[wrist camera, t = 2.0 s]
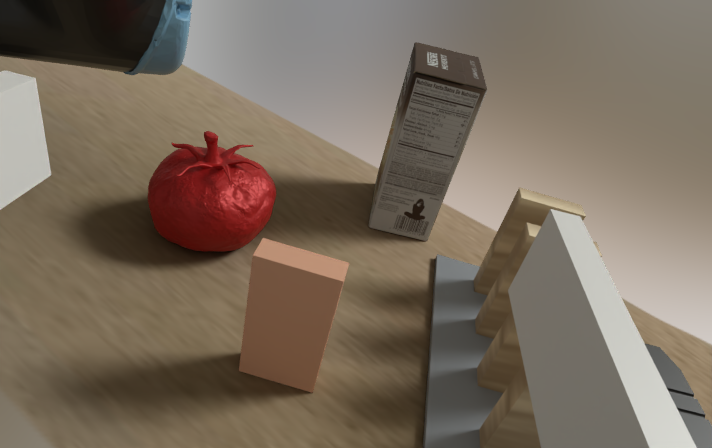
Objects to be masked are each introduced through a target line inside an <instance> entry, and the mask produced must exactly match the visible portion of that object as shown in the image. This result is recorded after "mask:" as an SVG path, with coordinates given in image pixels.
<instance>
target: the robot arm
mask: <svg viewBox="0 0 712 448" xmlns="http://www.w3.org/2000/svg"><path fill="white" fill-rule="evenodd" d="M191 7H192V0H0V56H4V57H12V58H20V59H28V60H36V61H44V62H52V63H60V64H68V65H76V66H83V67H91V68H98V69H105V70H112V71H119V72H124V73H125V74H129V75H135V74H138V73H144V74H158V75H167V74H171V73H173V72H175V71H176V70H177V69H178V68H179V67H180V66H181V64H182V62H183V59H184V55H185V51H186V45H187V39H188V33H189V25H190V15H191V13H190V9H191ZM49 176H51V170H50V164H49V158H48V152H47V145H46V139H45V133H44V127H43V121H42V115H41V109H40V102H39V96H38V90H37V84H36V78H33V77H29V76H25V75H21V74H17V73H13V72H9V71H6V70H5V71H2V72H0V210H1V209H2V208H3V207H5V206H6V205H8V204H9V203H11V202H12V201H14V200H15V199H17V198H18V197H20V196H21V195H23V194H24V193H26V192H27V191H28V190H30V189H31V188H33V187H34V186H36V185H37V184H39V183H40V182H42V181H43V180H45V179H46V178H48V177H49ZM508 293H509V297H510V302H511V307H512V312H513V316H514V321H515V326H516V331H517V335H518V340H519V345H520V350H521V355H522V359H523V364H524V369H525V374H526V378H527V383H528V388H529V393H530V397H531V402H532V407H533V412H534V416H535V421H536V426H537V431H538V435H539V440H540V445H541V448H712V426H711V424H710V422H709V420H706V419H705V413H704V411H703V409H702V408H701V406H700V404H699V402H698V400H697V399H694V398H693V396H694V393H693V391H692V390H691V388H690V386H689V384H688V382H687V381H686V379H685V377H684V375H683V373H682V372H681V370H680V369H679V368H678V367H677V366H676V365H675V364H674V362H673V361H672V360H671V359H670V358H669V357H668V356H667V355H666V354H665V353H664V352H663V351H662V350H661V348H660V347H656V346H653V345H649V344H645V343H644V342H643V340H642V338H641V336H640V334H639V332H638V330H637V328H636V326H635V324H634V322H633V320H632V318H631V316H630V314H629V312H628V310H627V308H626V306H625V304H624V302H623V300H622V298H621V296H620V294H619V292H618V290H617V288H616V287H615V284H614V282H613V280H612V278H611V276H610V274H609V273H608V270H607V268H606V266H605V265H604V262H603V260H602V259H601V256H600V255H599V253H598V251H597V249H596V247H595V245H594V243H593V241H592V239H591V237H590V235H589V233H588V231H587V229H586V227H585V225H584V223H583V221H582V219H581V217H580V216H576V215H573V214H569V213H565V212H561V211H557V210H553V209H550V211H549V213H548V215H547V217H546V219H545V221H544V222H543V224H542V226H541V228H540V230H539V232H538V234H537V236H536V238H535V240H534V242H533V243H532V245H531V247H530V249H529V251H528V253H527V255H526V257H525V259H524V261H523V263H522V264H521V266H520V268H519V270H518V272H517V274H516V276H515V278H514V280H513V282H512V284H511V285H510V287H509V289H508Z"/></svg>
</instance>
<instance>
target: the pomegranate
mask: <svg viewBox="0 0 712 448" xmlns="http://www.w3.org/2000/svg"><path fill="white" fill-rule="evenodd" d="M204 138H205V141H206V144H207V148H202V147H193V146H192V145H189V144H174V143H172V145H173V146H174V147H176V148H181V149H178V150H176V151H174V152H173V153H171V154H170V155H169V156H167V157H166V158H165V159H164V160H163V161H162V162H161V163H160V165H159V166H158V168H157V169H156V170H155V172H154V173H153V176H152V177H151V179H150V182H149V186H148V192H149V193H148V203H149V208H150V212H151V216H152V219H153V222H154V226H155V229H156V230H157V231H158V232H159V234H160V235H161V236H163V237H164V238H165V239H167V240H168V241H170V242H173V243H176V244H178V245H180V246H182V247H185V248H188V249H191V250H195V251H219V252H221V251H222V252H225V251H233V250H236V249H239V248H241V247H243V246H245V245H246V244H248V243H249V242H250V241H251V240H253V239H254V238H255V237H256V236H257V235H258V234H259V233H260V231H261V230H262V229H263V228H264V227H265V225H266V223H267V222H268V221H269V219H270V217H271V214H272V209H273V205H274V201H275V198H276V188H275V184H274V182H273V180H272V178H271V177H270V176H269V174H268V173H267V172H266V170H265V169H264V168H263V167H262V166H261V165H260V164H258V163H256V162H255V161H252V160H249V159H247V158H245V157H243V156H241V155H238V154H235V153H234V152H235V151H236V150H238V149H239V148H243V147H252V146H253V145H237V146H235V147H233V148H230V149H228V150H225V149H224V148H221V147H218V145H217V140H218V136H217V135H216V134H215V133H212V132H210V131H206V132H204Z"/></svg>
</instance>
